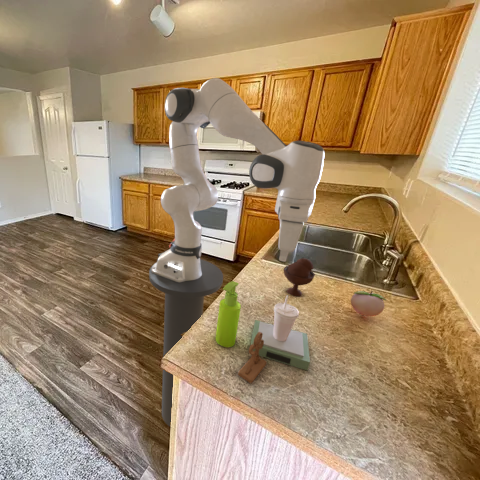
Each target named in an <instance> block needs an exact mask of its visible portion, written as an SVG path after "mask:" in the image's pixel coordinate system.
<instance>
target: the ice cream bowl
mask: <svg viewBox="0 0 480 480" xmlns="http://www.w3.org/2000/svg"><path fill="white" fill-rule="evenodd" d="M312 270H314V264H313V262H312V261H311V260H310V259H309V258H306V257H302V258H298V259H297V260H296V261H294V262H291V263H290V264H289V265H286V266H284V267H283V275H284V277H285V278H286V279H287V281H288V282H289V283H291V284H292V285H293V286H292V287H288V288H287V289H286V292H287V294H289V295H290V296H294V297H301V296H302V294H303V293H302V291H301V290H300V289H299V287H300V286H306V285H308V284H310V283H311V282H313V280H314V278H315V276H316V273H315V272H314V271H312Z"/></svg>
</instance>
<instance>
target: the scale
mask: <svg viewBox="0 0 480 480" xmlns="http://www.w3.org/2000/svg"><path fill="white" fill-rule="evenodd" d="M273 331H274V323H273V324H272V323H269V322H265V321H263V320H259V319H254V324H253V329H252V335H251V339H250V345H251V344H253V343H254V339H255V336H256V335H257V333H258V332H261V333H262V334H263V335H262V340H264V345H263V347H262V349H259V357H261V358H262V357H263V358H266V359H268V360H272V361H275V362H278V363H281V364H284V365H287V366H291V367H294V368H297V369H301V370H304V371H307V372H308V370H309V368H310V363H311V358H310V346H309V338H308V337H309V336H308V333H306V332H302V331H299V330H295V329H293V328H292V329H291V331H290V334H289V336H288V338H287V340H286V341H283V342H282V341H278V340H276V339H275V338H274V336H273ZM259 336H260V335H259ZM260 343H261V342H260ZM253 345H254V344H253ZM259 345H260V344H259ZM253 351H256V350H255V349H253Z"/></svg>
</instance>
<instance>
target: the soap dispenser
mask: <svg viewBox="0 0 480 480" xmlns="http://www.w3.org/2000/svg"><path fill="white" fill-rule="evenodd" d="M237 286H239V282H236V281H235V280H231V281H229V282H228V283H226V284H225V285H224V287H223V288H222V290H223V291H225V295H224V298H222V299H220V301H219V305H218V314H217V322H216V331H215V342H216V344H218V345H219V346H221V347H224V348H232V347H234V346H235V344H236V340H237V334H238V327H239V321H240V315H241V307H242V305H241V303H240V302H239V301H238V298H239V297H238V296H239V294H238V293H237V291H236V289H237V288H236V287H237Z"/></svg>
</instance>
